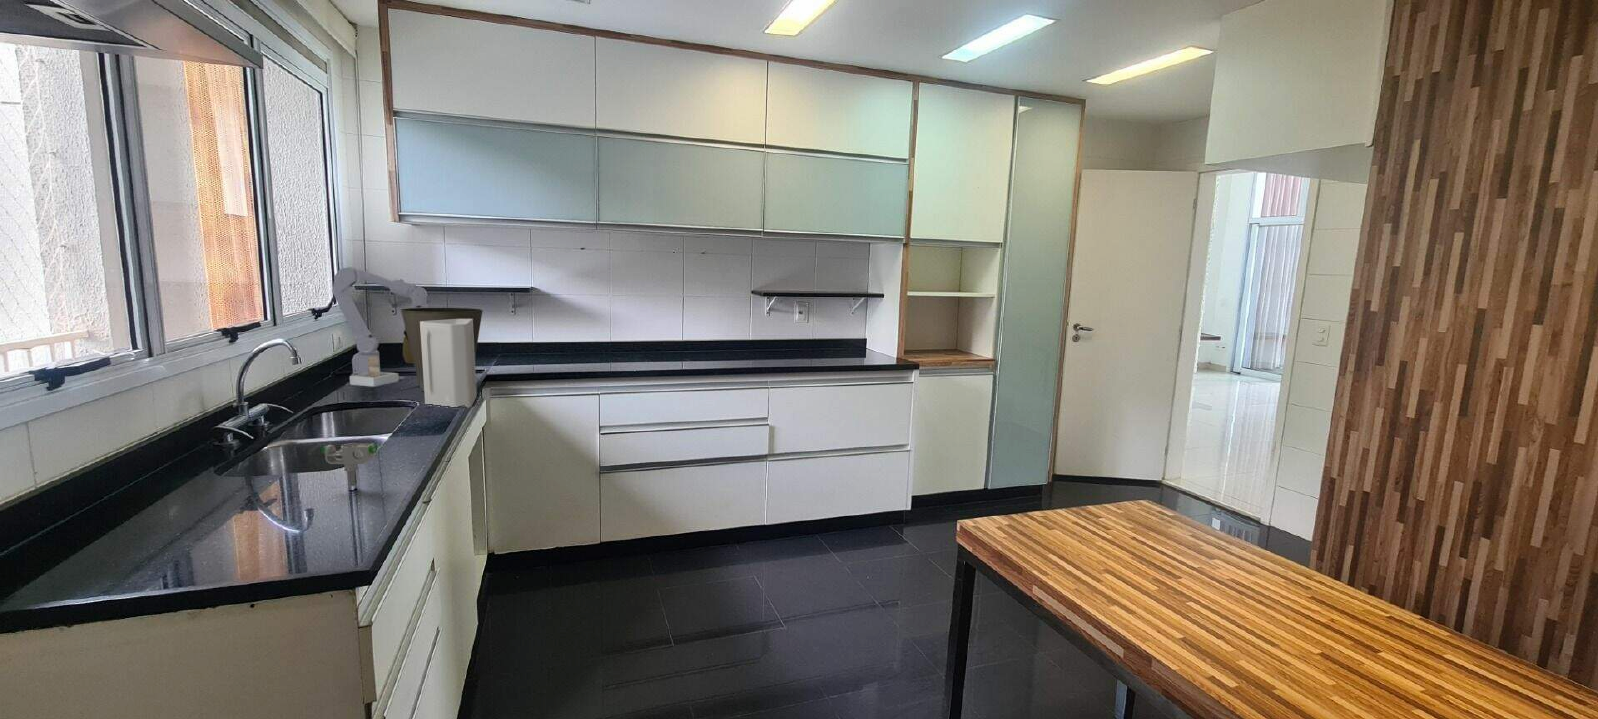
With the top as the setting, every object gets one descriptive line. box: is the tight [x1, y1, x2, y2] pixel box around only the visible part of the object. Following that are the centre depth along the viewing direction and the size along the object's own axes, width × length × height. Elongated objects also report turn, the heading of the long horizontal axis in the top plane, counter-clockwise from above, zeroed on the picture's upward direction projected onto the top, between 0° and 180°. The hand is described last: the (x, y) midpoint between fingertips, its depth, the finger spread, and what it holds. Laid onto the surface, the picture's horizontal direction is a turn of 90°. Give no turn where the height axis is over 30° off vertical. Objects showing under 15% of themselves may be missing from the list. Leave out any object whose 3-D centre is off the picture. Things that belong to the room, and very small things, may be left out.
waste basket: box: [400, 307, 484, 392], centre depth 243 cm, size 27×20×30 cm
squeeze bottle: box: [402, 335, 414, 365], centre depth 297 cm, size 8×8×18 cm
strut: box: [367, 356, 381, 378], centre depth 248 cm, size 4×4×10 cm
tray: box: [349, 371, 400, 388], centre depth 248 cm, size 11×11×4 cm
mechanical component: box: [322, 442, 378, 486], centre depth 141 cm, size 3×10×10 cm, turn 95°
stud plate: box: [398, 375, 409, 380], centre depth 259 cm, size 8×8×3 cm
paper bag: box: [420, 319, 477, 409], centre depth 222 cm, size 19×15×28 cm
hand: (422, 348), depth 274 cm, fingers open, 7 cm apart
